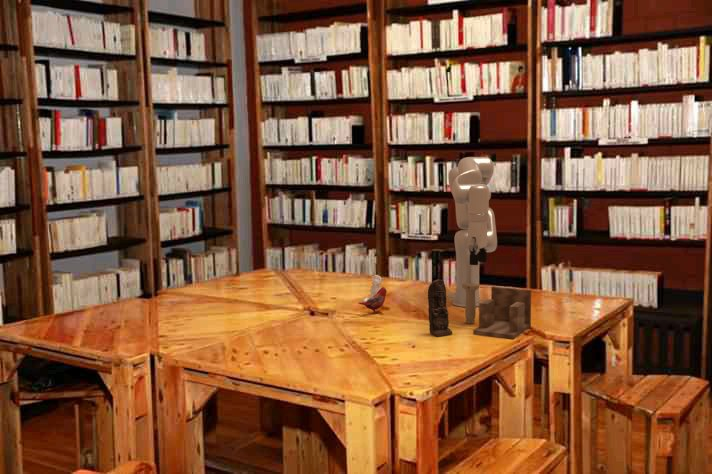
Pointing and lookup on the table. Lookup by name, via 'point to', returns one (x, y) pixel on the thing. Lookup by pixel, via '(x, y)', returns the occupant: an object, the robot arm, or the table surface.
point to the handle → (470, 301)
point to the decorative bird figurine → (375, 300)
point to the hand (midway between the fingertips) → (478, 263)
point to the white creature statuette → (374, 286)
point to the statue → (438, 309)
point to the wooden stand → (505, 313)
